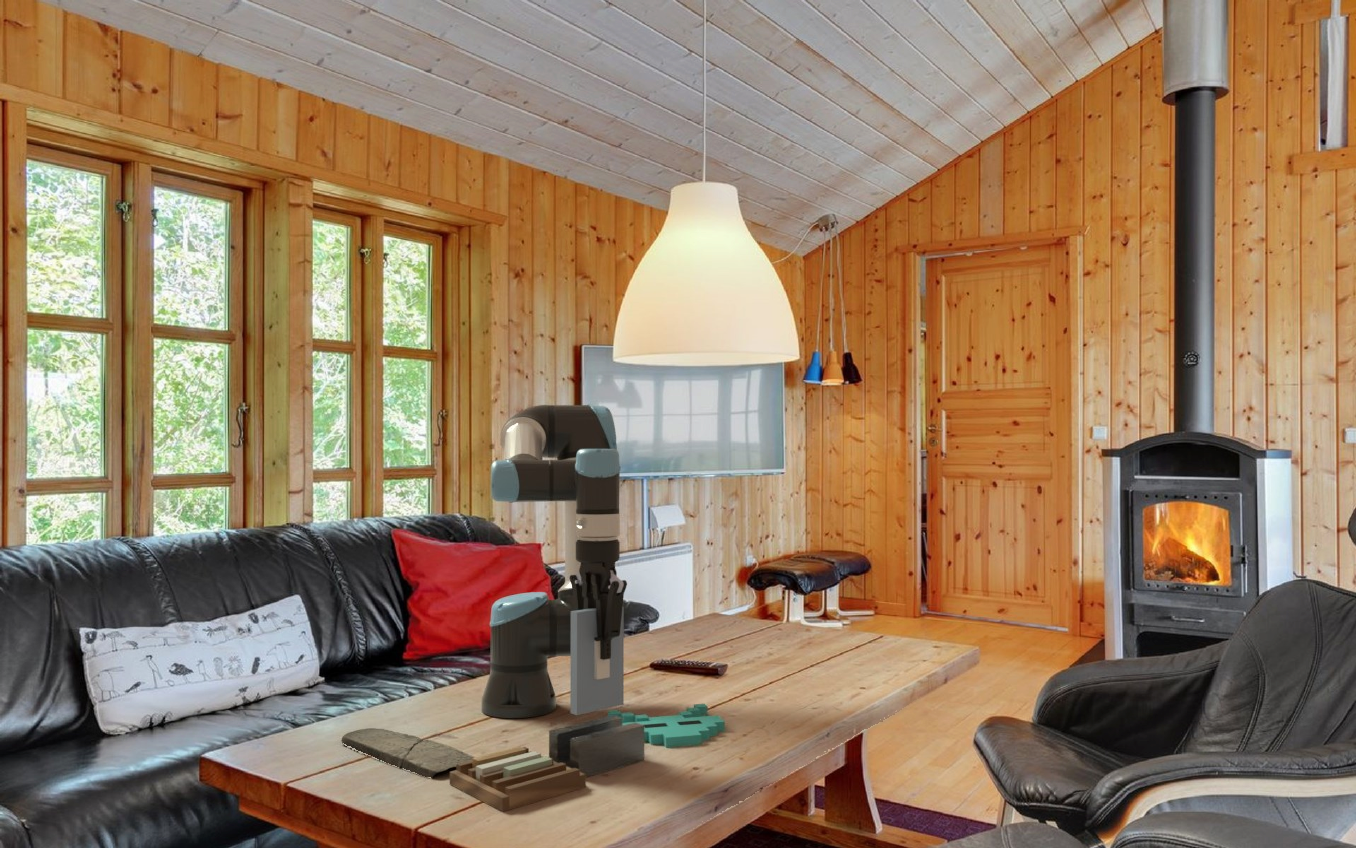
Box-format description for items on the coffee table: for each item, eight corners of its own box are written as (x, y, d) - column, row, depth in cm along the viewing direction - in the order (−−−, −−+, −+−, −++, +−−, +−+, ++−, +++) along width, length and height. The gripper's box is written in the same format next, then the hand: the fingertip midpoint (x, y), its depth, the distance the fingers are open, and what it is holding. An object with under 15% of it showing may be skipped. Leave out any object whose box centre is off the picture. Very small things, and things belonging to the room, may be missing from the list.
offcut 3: (503, 793, 151) (503, 767, 151) (545, 781, 157) (545, 756, 157) (509, 796, 150) (509, 770, 150) (552, 784, 155) (552, 759, 155)
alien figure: (607, 722, 191) (629, 753, 172) (607, 711, 191) (629, 740, 172) (704, 714, 197) (736, 744, 177) (704, 703, 197) (736, 731, 177)
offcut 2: (475, 791, 152) (475, 766, 152) (534, 775, 159) (534, 751, 160) (481, 794, 151) (481, 769, 151) (540, 778, 158) (540, 753, 158)
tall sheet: (570, 713, 162) (570, 611, 163) (617, 702, 169) (617, 605, 169) (576, 715, 161) (577, 612, 161) (623, 704, 167) (623, 606, 168)
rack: (449, 784, 155) (449, 765, 155) (530, 763, 165) (530, 745, 165) (502, 811, 143) (502, 791, 143) (585, 787, 154) (585, 768, 154)
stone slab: (384, 721, 183) (484, 748, 164) (385, 738, 183) (484, 767, 164) (334, 735, 176) (433, 764, 156) (335, 753, 175) (433, 784, 156)
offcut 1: (472, 783, 156) (472, 758, 156) (519, 770, 162) (519, 746, 162) (477, 786, 154) (478, 761, 154) (525, 773, 160) (525, 749, 161)
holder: (549, 766, 163) (549, 731, 163) (613, 749, 173) (613, 715, 173) (578, 779, 157) (578, 742, 157) (644, 760, 167) (644, 725, 167)
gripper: (554, 537, 169) (554, 673, 168) (607, 542, 158) (607, 688, 157) (588, 534, 174) (588, 666, 173) (642, 539, 163) (642, 680, 162)
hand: (597, 676), depth 165 cm, fingers closed on tall sheet, 2 cm apart
